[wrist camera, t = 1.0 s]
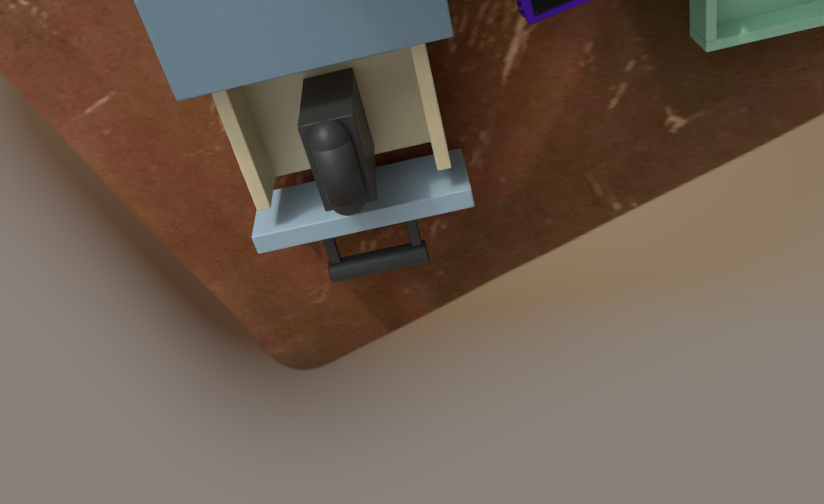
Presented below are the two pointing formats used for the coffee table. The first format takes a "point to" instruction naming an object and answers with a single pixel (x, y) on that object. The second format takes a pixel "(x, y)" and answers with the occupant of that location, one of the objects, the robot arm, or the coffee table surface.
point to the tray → (750, 20)
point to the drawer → (390, 129)
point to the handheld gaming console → (544, 8)
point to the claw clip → (338, 141)
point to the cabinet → (279, 36)
